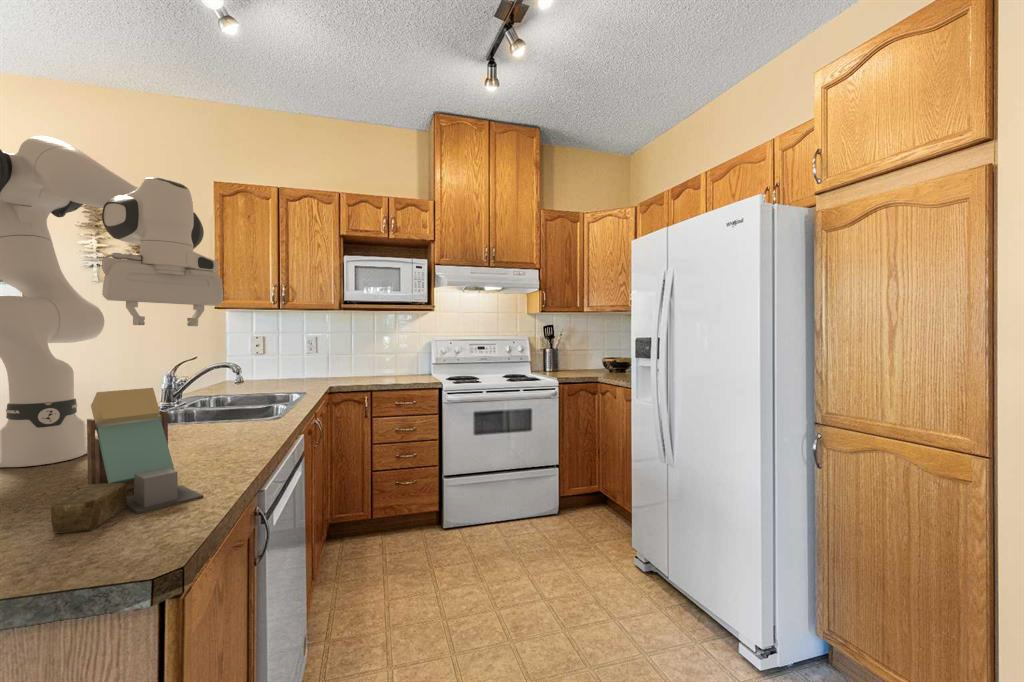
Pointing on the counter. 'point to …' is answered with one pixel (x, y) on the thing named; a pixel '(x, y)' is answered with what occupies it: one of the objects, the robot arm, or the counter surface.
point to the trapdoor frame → (96, 460)
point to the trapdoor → (130, 433)
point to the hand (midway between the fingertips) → (166, 325)
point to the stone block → (88, 507)
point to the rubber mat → (183, 496)
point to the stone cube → (155, 486)
